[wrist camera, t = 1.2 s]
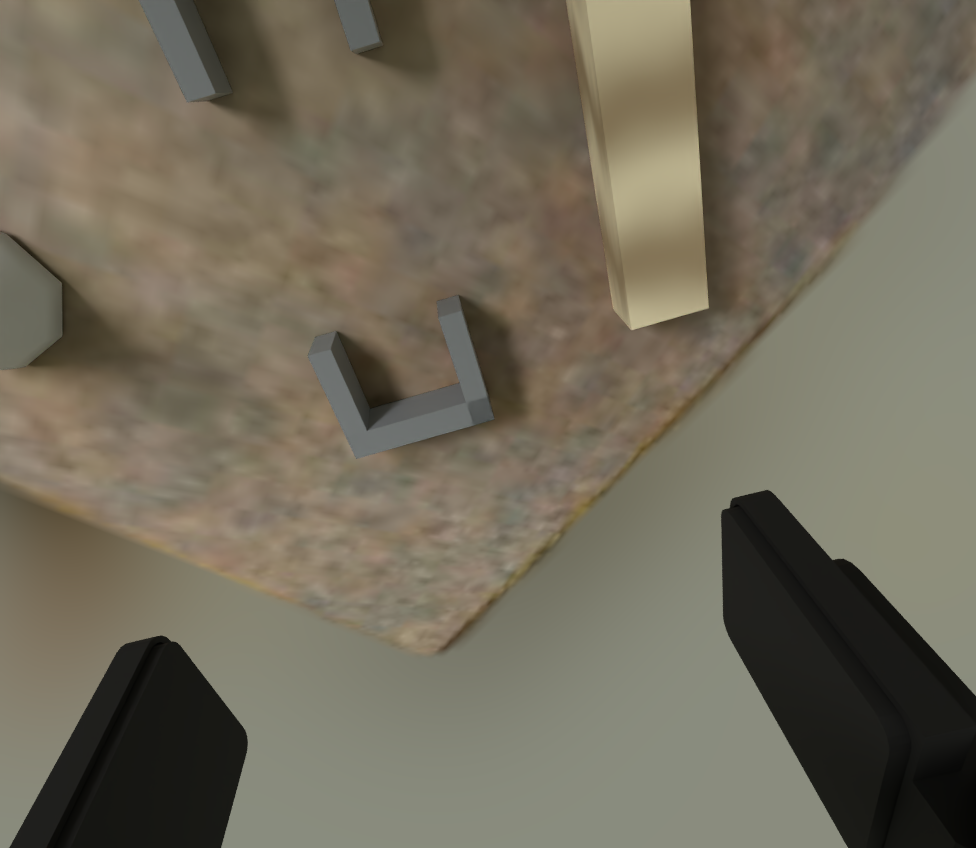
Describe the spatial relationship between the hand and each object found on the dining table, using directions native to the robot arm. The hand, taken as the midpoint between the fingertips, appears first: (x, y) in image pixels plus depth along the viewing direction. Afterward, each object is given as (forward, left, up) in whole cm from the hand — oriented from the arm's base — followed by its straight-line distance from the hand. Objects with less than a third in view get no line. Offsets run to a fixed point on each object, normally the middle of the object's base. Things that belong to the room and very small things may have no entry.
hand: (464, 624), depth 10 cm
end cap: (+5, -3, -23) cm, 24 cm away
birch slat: (-5, +11, -23) cm, 26 cm away
